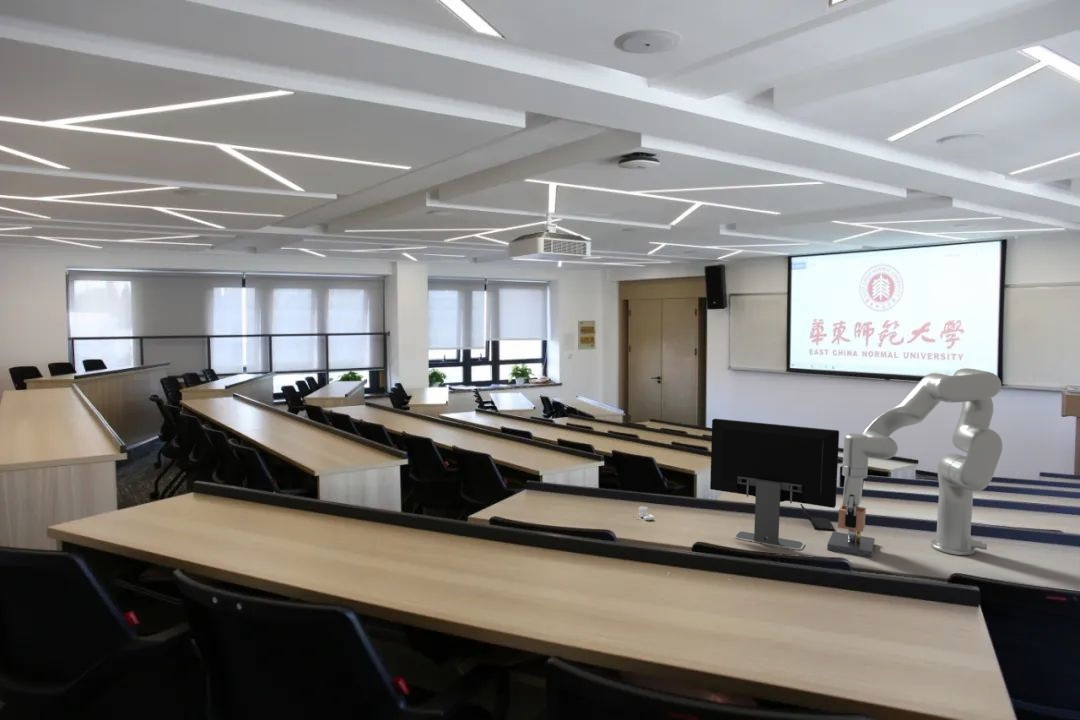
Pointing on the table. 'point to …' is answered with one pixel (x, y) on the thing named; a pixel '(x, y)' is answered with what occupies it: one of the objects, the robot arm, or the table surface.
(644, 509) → the teacup and saucer
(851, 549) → the base plate
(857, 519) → the pink storage bin
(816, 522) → the handheld gaming console
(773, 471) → the computer monitor
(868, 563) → the table surface
